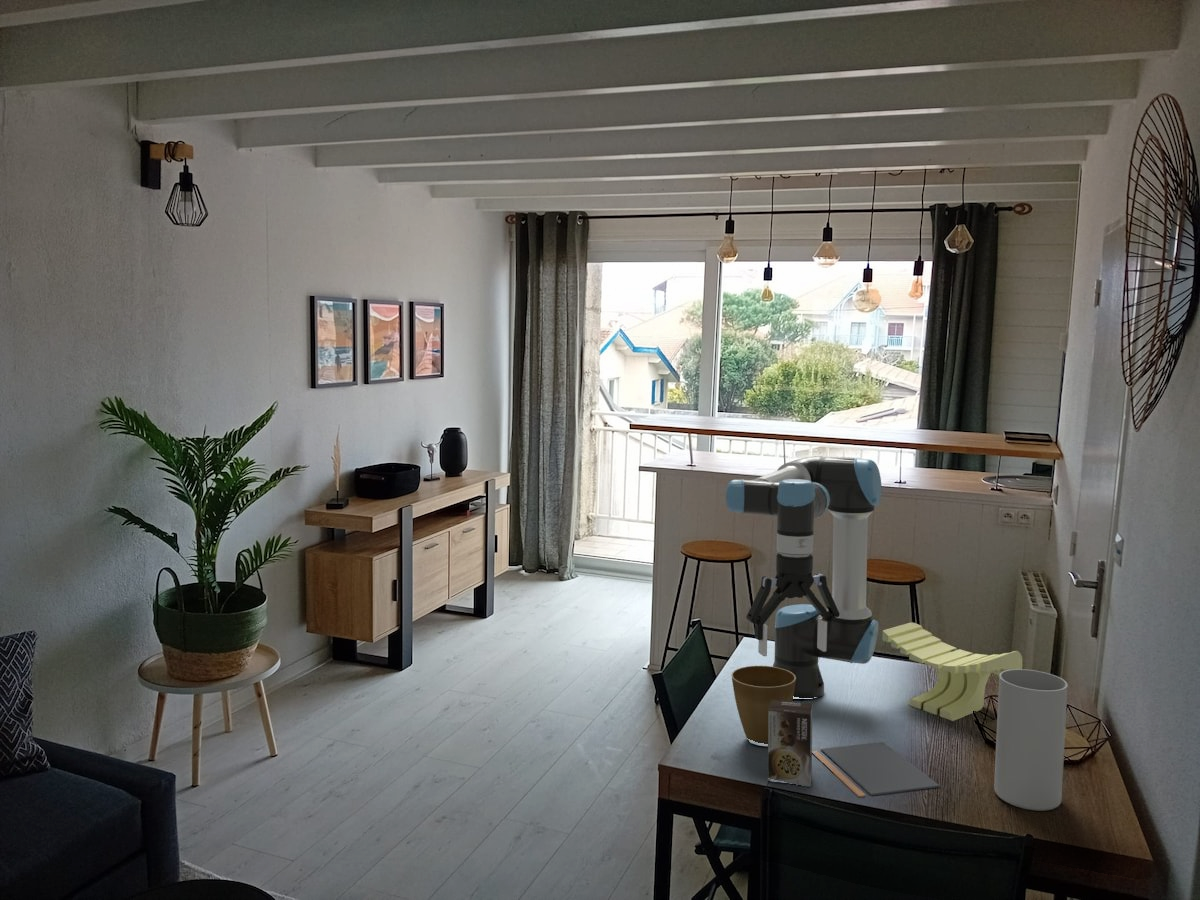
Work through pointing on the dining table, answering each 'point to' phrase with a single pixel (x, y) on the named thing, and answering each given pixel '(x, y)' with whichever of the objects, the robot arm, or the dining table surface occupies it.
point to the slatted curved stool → (949, 671)
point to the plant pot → (760, 696)
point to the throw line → (839, 775)
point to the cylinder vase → (1030, 739)
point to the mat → (879, 768)
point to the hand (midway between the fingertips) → (792, 652)
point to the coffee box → (790, 742)
